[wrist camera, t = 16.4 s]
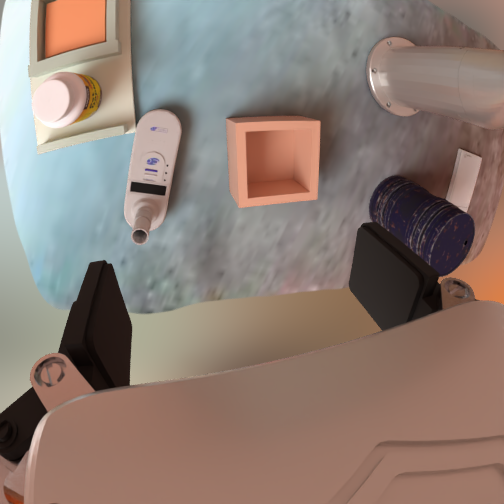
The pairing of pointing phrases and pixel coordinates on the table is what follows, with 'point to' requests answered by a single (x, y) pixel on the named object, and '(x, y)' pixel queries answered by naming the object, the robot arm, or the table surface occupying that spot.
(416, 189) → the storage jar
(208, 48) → the table surface
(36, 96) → the supplement bottle
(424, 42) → the table surface
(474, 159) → the hard drive
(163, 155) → the electronic device
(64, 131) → the cream tray with frame
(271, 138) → the cup
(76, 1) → the cradle plate
